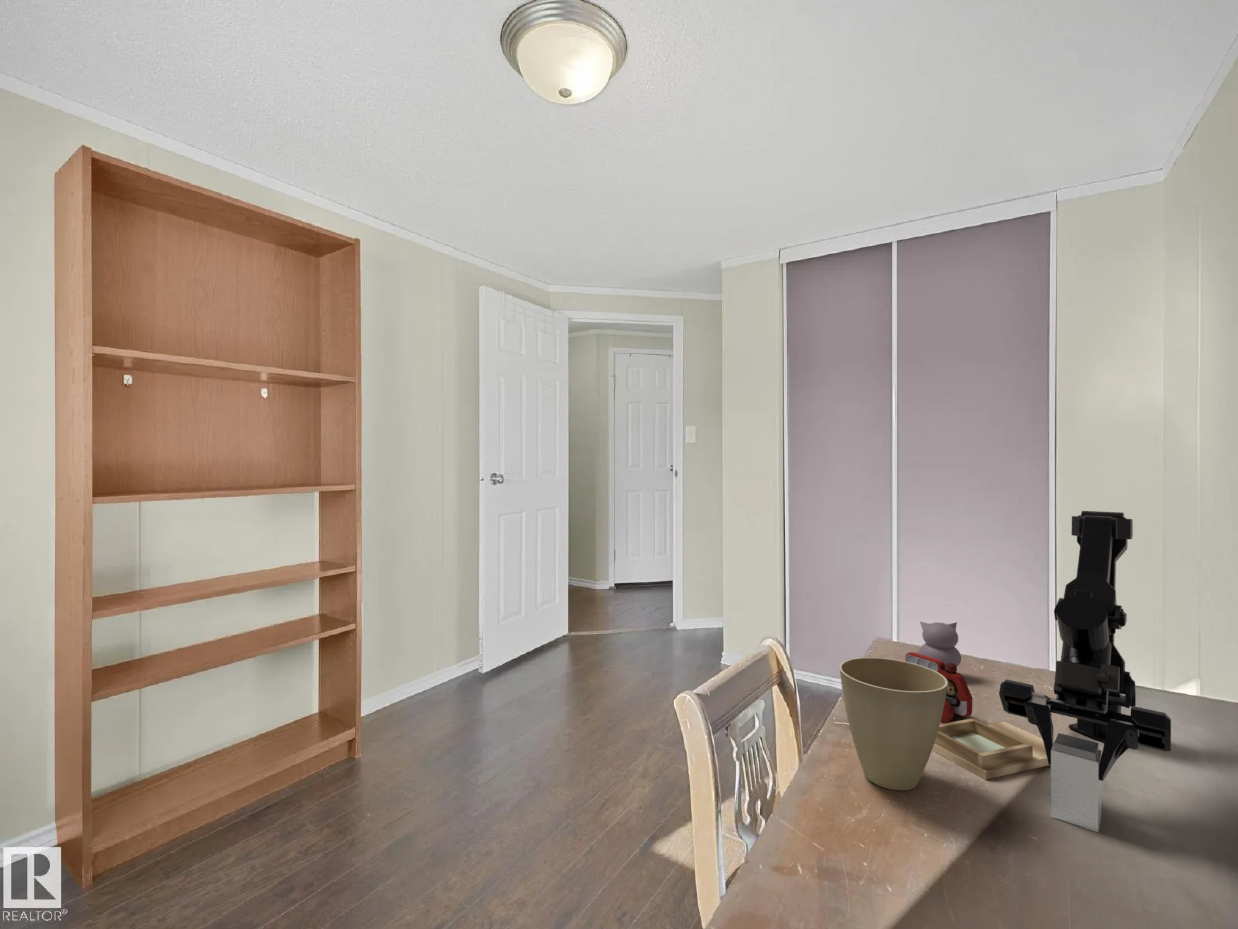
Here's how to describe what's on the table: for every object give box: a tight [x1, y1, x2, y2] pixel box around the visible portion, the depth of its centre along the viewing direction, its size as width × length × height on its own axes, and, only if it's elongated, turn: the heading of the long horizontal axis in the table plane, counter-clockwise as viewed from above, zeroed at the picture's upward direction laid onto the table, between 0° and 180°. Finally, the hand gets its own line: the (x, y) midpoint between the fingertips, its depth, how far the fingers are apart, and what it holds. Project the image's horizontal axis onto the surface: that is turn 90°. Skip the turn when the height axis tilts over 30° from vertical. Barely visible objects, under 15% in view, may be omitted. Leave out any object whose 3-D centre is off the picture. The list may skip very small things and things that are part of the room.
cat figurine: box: [918, 621, 962, 679], centre depth 134 cm, size 8×8×12 cm
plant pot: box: [839, 656, 948, 792], centre depth 90 cm, size 15×15×16 cm
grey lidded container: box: [1050, 732, 1103, 833], centre depth 80 cm, size 4×5×10 cm
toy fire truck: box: [904, 651, 973, 724], centre depth 114 cm, size 7×12×10 cm, turn 32°
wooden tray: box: [932, 717, 1049, 781], centre depth 99 cm, size 19×12×3 cm, turn 109°
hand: (1074, 772), depth 79 cm, fingers closed on grey lidded container, 5 cm apart
